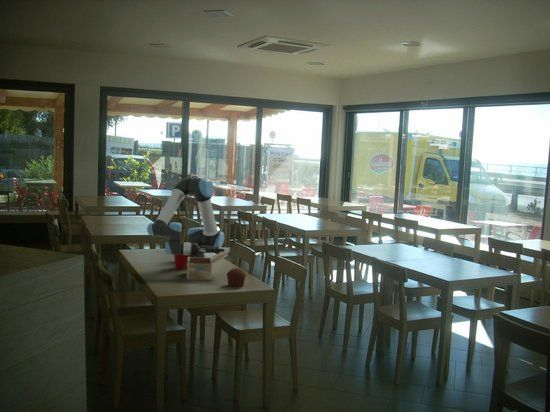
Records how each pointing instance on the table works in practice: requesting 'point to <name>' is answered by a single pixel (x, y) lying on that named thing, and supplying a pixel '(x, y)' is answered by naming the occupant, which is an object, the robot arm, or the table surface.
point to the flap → (219, 257)
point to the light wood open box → (199, 268)
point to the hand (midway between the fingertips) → (229, 250)
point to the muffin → (236, 277)
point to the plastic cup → (180, 261)
